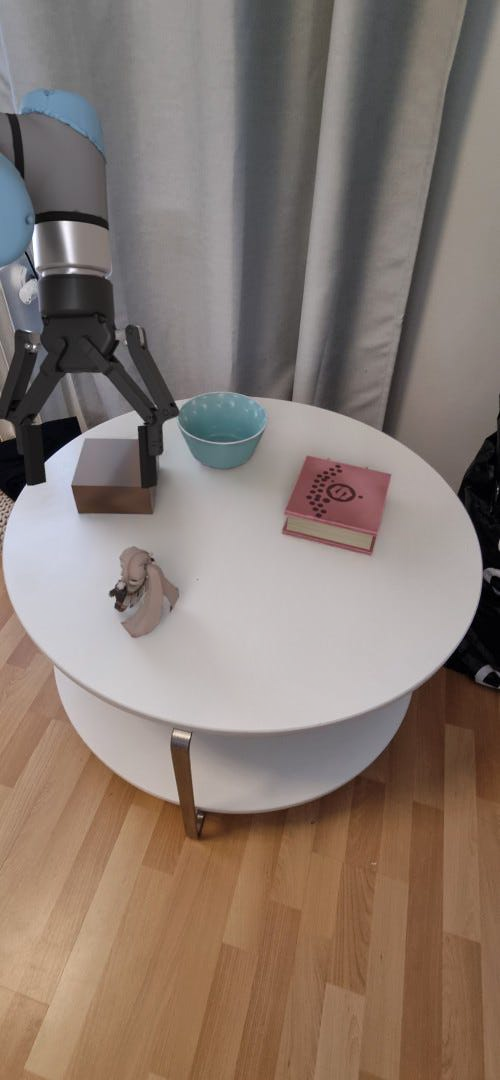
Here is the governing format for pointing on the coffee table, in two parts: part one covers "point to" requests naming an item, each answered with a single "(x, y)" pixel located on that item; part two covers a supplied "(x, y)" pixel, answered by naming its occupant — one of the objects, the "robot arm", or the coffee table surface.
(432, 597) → the coffee table surface
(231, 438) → the bowl
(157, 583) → the toy
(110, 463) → the walnut block
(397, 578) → the coffee table surface
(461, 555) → the coffee table surface
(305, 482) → the book
